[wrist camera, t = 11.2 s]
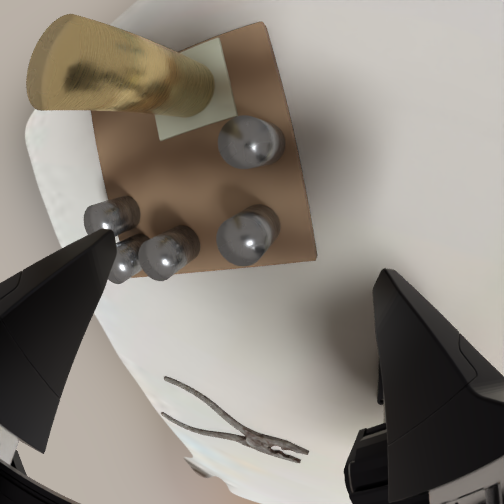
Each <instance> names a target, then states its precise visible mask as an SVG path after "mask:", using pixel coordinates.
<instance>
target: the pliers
mask: <svg viewBox="0 0 504 504" xmlns="http://www.w3.org/2000/svg"><path fill="white" fill-rule="evenodd" d="M164 380H165V381H167V382H169V383H172V384H174V385H177V386H179V387H181V388H183V389H185V390H186V391H188V392H190V393H192V394H193V395H195V396H196V397H198V398H200V399H201V400H202V401H204V402H205V403H206V404H207V405H209V406H210V407H211V408H212V409H213V410H214V411H216V412H217V413H218V414H219V415H220V416H221V417H222V418H223V419H224V420H226V421H227V422H228V423H229V424H230V425H232V426H233V427H234V428H236V429H237V430H239V431H240V432H241V433H243V434H244V435H245V437H243V436H239V435H234V434H229V433H221V432H213V431H206V430H201V429H197V428H193V427H190V426H188V425H185V424H183V423H181V422H179V421H177V420H175V419H173V418H172V417H170V416H169V415H167V414H165V413H164V412H162V413H161V415H162V416H164V417H165V418H167V419H168V420H170V421H171V422H173V423H175V424H177V425H179V426H181V427H183V428H185V429H187V430H190V431H192V432H195V433H198V434H202V435H207V436H212V437H218V438H223V439H229V440H233V441H236V442H239V443H242V445H245V446H248V447H251V448H253V449H256V450H258V451H260V452H263V453H266V454H269V455H272V456H275V457H278V458H282V459H285V460H289V461H292V462H296V463H300V461H301V460H300V459H298V458H295V457H293V456H290V455H286V454H284V453H283V452H282V451H274V450H272V449H271V447H272V446H279V447H281V449H282V450H291V451H294V452H296V453H301V454H306V455H308V453H309V451H308V450H306V449H304V448H301V447H299V446H297V445H295V444H293V443H291V442H289V441H286V440H282V439H278V438H274V437H271V436H267V435H263V434H260V433H258V432H255V431H253V430H251V429H249V428H247V427H245V426H243V425H242V424H240V423H239V422H237V421H236V420H235V419H233V418H232V417H231V416H230V415H228V414H227V413H226V412H225V411H223V410H222V409H221V408H220V407H219V406H218V405H216V404H215V403H214V402H213V401H211V400H210V399H209V398H207V397H206V396H204V395H203V394H201V393H200V392H198V391H196V390H195V389H193V388H191V387H189V386H187V385H185V384H183V383H181V382H179V381H177V380H174V379H172V378H169V377H164Z"/></svg>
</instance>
